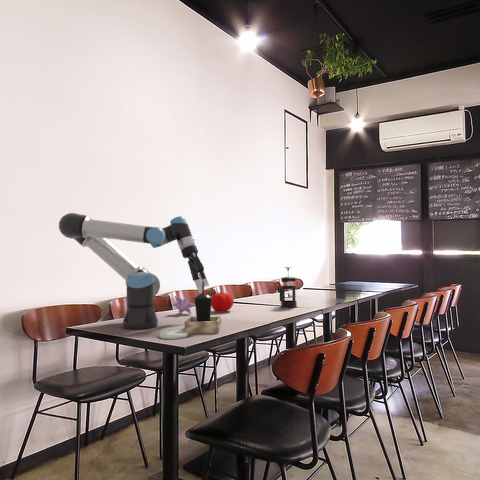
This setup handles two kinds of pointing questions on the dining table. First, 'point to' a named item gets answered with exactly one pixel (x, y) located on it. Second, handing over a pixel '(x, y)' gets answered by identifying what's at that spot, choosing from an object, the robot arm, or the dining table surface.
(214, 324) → the crate
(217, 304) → the tomato
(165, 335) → the disc
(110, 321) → the dining table surface
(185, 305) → the lily
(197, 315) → the drinking cup
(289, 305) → the french press
